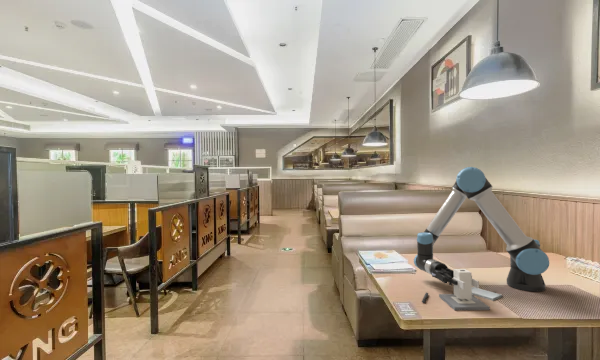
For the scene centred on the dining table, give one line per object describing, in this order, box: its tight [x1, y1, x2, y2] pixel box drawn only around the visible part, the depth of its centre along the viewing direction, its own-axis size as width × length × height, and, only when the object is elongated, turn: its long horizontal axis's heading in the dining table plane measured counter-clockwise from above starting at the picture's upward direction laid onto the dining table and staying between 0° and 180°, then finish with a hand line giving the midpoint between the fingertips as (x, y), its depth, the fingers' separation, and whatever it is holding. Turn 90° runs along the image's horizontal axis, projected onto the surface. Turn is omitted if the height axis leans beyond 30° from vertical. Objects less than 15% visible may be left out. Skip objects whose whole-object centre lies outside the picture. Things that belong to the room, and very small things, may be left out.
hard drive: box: [472, 286, 503, 302], centre depth 136 cm, size 2×8×12 cm
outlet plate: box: [438, 293, 491, 311], centre depth 127 cm, size 14×14×2 cm
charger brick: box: [452, 268, 473, 299], centre depth 127 cm, size 5×5×11 cm
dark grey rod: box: [421, 292, 429, 304], centre depth 132 cm, size 11×1×1 cm, turn 149°
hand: (471, 285), depth 122 cm, fingers closed on charger brick, 6 cm apart
